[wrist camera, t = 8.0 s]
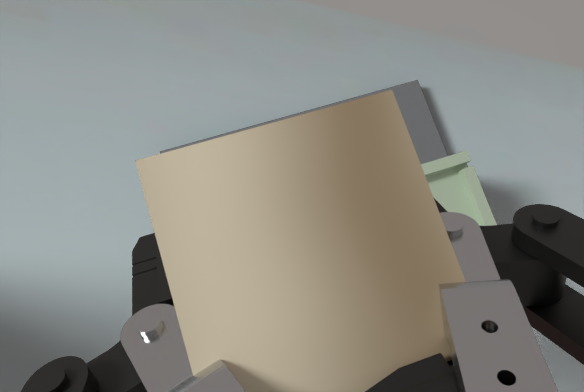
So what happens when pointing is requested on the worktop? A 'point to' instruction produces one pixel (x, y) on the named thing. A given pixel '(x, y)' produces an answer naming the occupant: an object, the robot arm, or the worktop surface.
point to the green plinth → (458, 187)
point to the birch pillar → (304, 249)
